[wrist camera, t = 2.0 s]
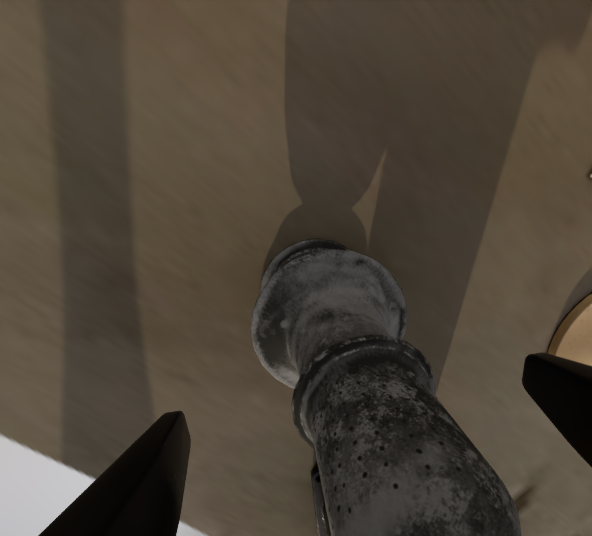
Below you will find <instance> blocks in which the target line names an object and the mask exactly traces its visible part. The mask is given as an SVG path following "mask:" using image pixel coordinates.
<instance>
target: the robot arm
mask: <svg viewBox="0 0 592 536" xmlns="http://www.w3.org/2000/svg"><path fill="white" fill-rule="evenodd" d="M522 383H523V386H524V388H525V390H526V391H527V393H528V394H529V395H530V396H531V398H532V399H533V400H534V401H535V402H536V404H537V405H538V406H539V407H540V408H541V410H542V411H543V412H544V413H545V415H546V416H547V417H548V418H549V419H550V421H551V422H552V423H553V424H554V425H555V427H556V428H557V429H558V430H559V432H560V433H561V434H562V435H563V436H564V438H565V439H566V440H567V441H568V442H569V443H570V445H571V446H572V447H573V448H574V449H575V450H576V451H577V452H578V453H579V454H580V456H581V457H582V458H583V459H584V460H585V461H586V462H587V463H588V464H589V465H590V466H591V467H592V366H590V365H586V364H583V363H579V362H576V361H572V360H569V359H565V358H562V357H559V356H555V355H552V354H548V353H536V354H530V355H528V356H527V357H526V358H525V363H524V370H523V377H522ZM190 444H191V442H190V434H189V431H188V427H187V423H186V419H185V416H184V413H183V412H182V411H174V412H168V413H165V414H163V415H162V416H161V417H160V418H159V419H158V420H157V421H156V422H155V423H154V424H153V425H152V426H151V427H150V428H149V429H148V430H147V431H146V432H145V433H144V434H143V435H142V436H140V437H139V438H138V439H137V440H136V441H135V442H134V443H133V444H132V445H131V446H130V447H129V448H128V449H127V450H126V451H125V452H124V453H123V454H122V455H121V456H120V457H119V458H118V459H117V460H116V461H115V462H114V463H113V464H112V465H111V466H110V467H109V468H108V469H107V470H105V471H104V472H103V473H102V474H101V475H100V476H99V477H98V478H97V479H96V480H95V481H94V482H93V483H92V484H91V485H90V486H89V487H88V488H87V489H86V490H85V491H84V492H83V493H82V494H81V495H80V496H79V497H78V498H77V499H76V500H75V501H74V502H73V503H72V504H70V505H69V506H68V507H67V508H66V509H65V510H64V511H63V512H62V513H61V514H60V515H59V516H58V517H57V518H56V519H55V520H54V521H53V522H52V523H51V524H50V525H49V526H48V527H47V528H46V529H45V530H44V531H43V532H42V533H41V534H40V535H39V536H176V533H177V528H178V524H179V520H180V514H181V508H182V501H183V494H184V487H185V480H186V474H187V467H188V460H189V453H190ZM311 480H312V488H313V496H314V505H315V513H316V522H317V530H318V536H331V531H330V526H329V521H328V516H327V510H326V505H325V500H324V494H323V489H322V484H321V479H320V473H319V468H318V466H316V467H314V468H313V469H312V470H311Z"/></svg>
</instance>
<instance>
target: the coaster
mask: <svg viewBox="0 0 592 536" xmlns="http://www.w3.org/2000/svg"><path fill="white" fill-rule="evenodd" d="M548 354H552V355H555V356H559V357H562V358H565V359H569V360H572V361H576V362H579V363H583V364H586V365H590V366H592V294H590V295H589V296H587V297H586V298H585V299H584V300H583V301H581V302H580V303H579V304H578V305H577V306H576V307H575V308H574V309H573V310H572V311H571V312H570V313H569V314H568V316H567V317H566V318H565V319H564V321H563V322H562V323H561V325H560V327H559V328H558V330H557V331H556V333H555V335H554V337H553V339H552V341H551V344H550V347H549V350H548Z"/></svg>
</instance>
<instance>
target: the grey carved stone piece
mask: <svg viewBox="0 0 592 536" xmlns="http://www.w3.org/2000/svg"><path fill="white" fill-rule="evenodd" d="M406 326H407V305H406V302H405V299H404V295H403V292H402V289H401V287H400V286H399V284H398V283H397V281H396V280H395V278H394V277H393V275H392V274H391V272H389V271H388V270H387V269H386V268H384V267H383V266H382V265H381V264H380V263H378V262H377V261H376V260H374V259H372V258H370V257H367V256H365V255H362V254H360V253H358V252H355V251H350V250H349V249H348V248H346V247H345V246H343V245H341V244H338V243H336V242H334V241H331V240H323V239H312V240H305V241H300V242H298V243H296V244H293V245H291V246H288V247H287V248H286V249H284V250H283V251H282V252H280V253H279V254H278V255H276V257H275V258H274V259H273V261H272V262H271V263H270V264H269V266H268V267H267V269H266V272H265V274H264V276H263V279H262V283H261V292H260V294H259V296H258V299H257V301H256V304H255V306H254V308H253V314H252V323H251V335H252V340H253V346H254V350H255V352H256V354H257V356H258V357H259V359H260V361H261V363H262V365H263V366H264V367H265V368H266V369H267V370H268V371H269V372H270V374H271V375H272V376H273V377H274V378H275V379H277V380H279V381H280V382H282V383H284V384H286V385H287V386H289V387H291V388H294V394H293V399H292V412H293V419H294V424H295V426H296V428H297V430H298V432H299V434H300V436H301V437H302V438H303V439H304V440H305V441H306V442H307V443H308V444H309V445H310V446H311V447H312V448H314V449H315V452H316V457H317V463H318V468H319V473H320V479H321V484H322V489H323V494H324V500H325V505H326V510H327V516H328V521H329V526H330V531H331V536H521V528H520V521H519V516H518V511H517V507H516V505H515V503H514V501H513V500H512V498H511V496H510V494H509V492H508V490H507V488H506V487H505V485H504V483H503V482H502V481H501V479H500V478H499V476H498V475H497V474H496V472H495V471H494V470H493V469H492V467H491V466H490V465H489V463H488V462H487V461H486V460H485V458H484V457H483V456H482V455H481V453H480V452H479V451H478V450H477V448H476V447H475V446H474V445H473V443H472V442H471V441H470V440H469V438H468V437H467V436H466V435H465V433H464V432H463V431H462V429H461V428H460V427H459V426H458V424H457V423H456V422H455V421H454V419H453V418H452V417H451V416H450V414H449V413H448V412H447V411H446V409H445V408H444V407H443V406H442V404H441V403H440V402H439V401H438V399H437V398H436V397H435V395H434V393H435V379H434V376H433V372H432V369H431V366H430V364H429V363H428V362H427V360H426V359H425V357H424V356H423V355H422V353H421V352H420V351H419V350H417V349H416V348H415V347H413V346H412V345H410V344H409V343H408V342H406V341H403V337H404V333H405V329H406Z"/></svg>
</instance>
